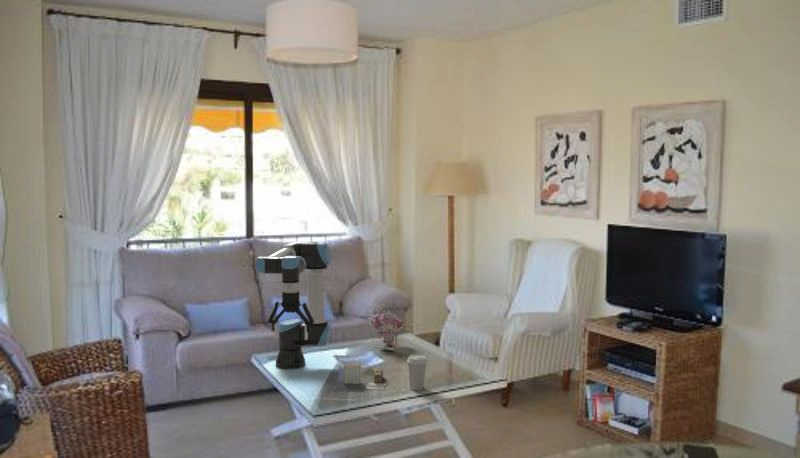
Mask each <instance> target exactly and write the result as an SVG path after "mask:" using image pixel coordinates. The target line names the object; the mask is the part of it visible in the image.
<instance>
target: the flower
mask: <svg viewBox="0 0 800 458" xmlns="http://www.w3.org/2000/svg"><path fill="white" fill-rule="evenodd" d="M367 319H368V321H369V323H368V324H369V325H371V326H373V327H374V329H375V333H376V334H377V338H378V339H382V343H383V344H384V345H385V344H386V345H387V346H386V345H385V346H382V347H380V348H379V351H381V350H382V349H387V350H388V351H392V352H394V353H397V352H396V348H397V343H398V337H399V335H398V332H402V331H404V332H407V333H408V332H409V331H408V330H407V328H405V326H403V325H404V321H402V319H399V318H398V315H397V314H395V313H393V312H392V311H391V312H390V309H388V310H384V309H383V311H382V313H381V314H379V313H378V314H377V315H375V314H373V313H372V314H370V317H368V318H367ZM383 326H384V328H385V330H384V328H383ZM391 332H394V333H391ZM394 342H395V343H394ZM390 345H391V346H392V348H391V347H389V346H390Z"/></svg>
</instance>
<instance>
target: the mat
mask: <svg viewBox="0 0 800 458" xmlns="http://www.w3.org/2000/svg"><path fill="white" fill-rule="evenodd" d="M367 384H368V382H361V384H344V381H338V382H337V383H336V386H335V387H334V389H333V392H342V393H343V392H344V393H346V392H347V393H364V392H365V391H366V388H367V386H368V385H367Z"/></svg>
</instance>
